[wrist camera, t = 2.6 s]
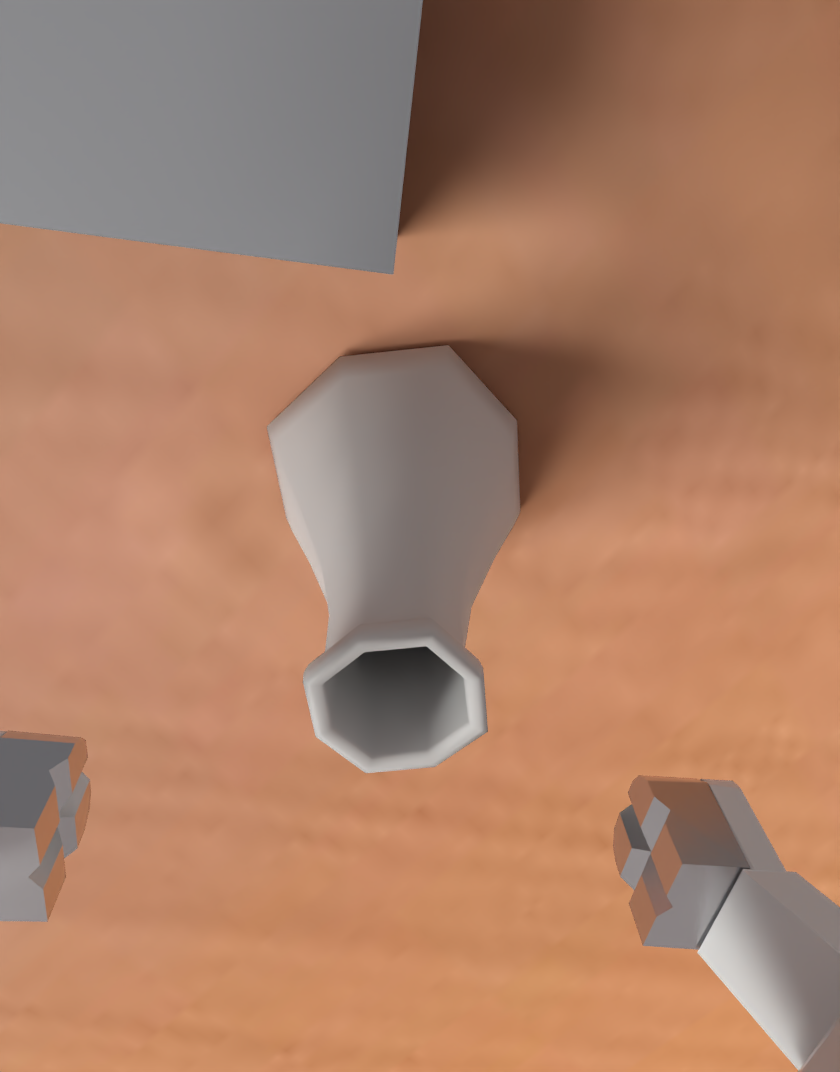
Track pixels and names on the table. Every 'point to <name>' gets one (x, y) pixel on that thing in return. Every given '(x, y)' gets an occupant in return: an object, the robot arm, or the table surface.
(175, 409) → the table surface
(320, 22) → the grey block
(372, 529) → the flask
